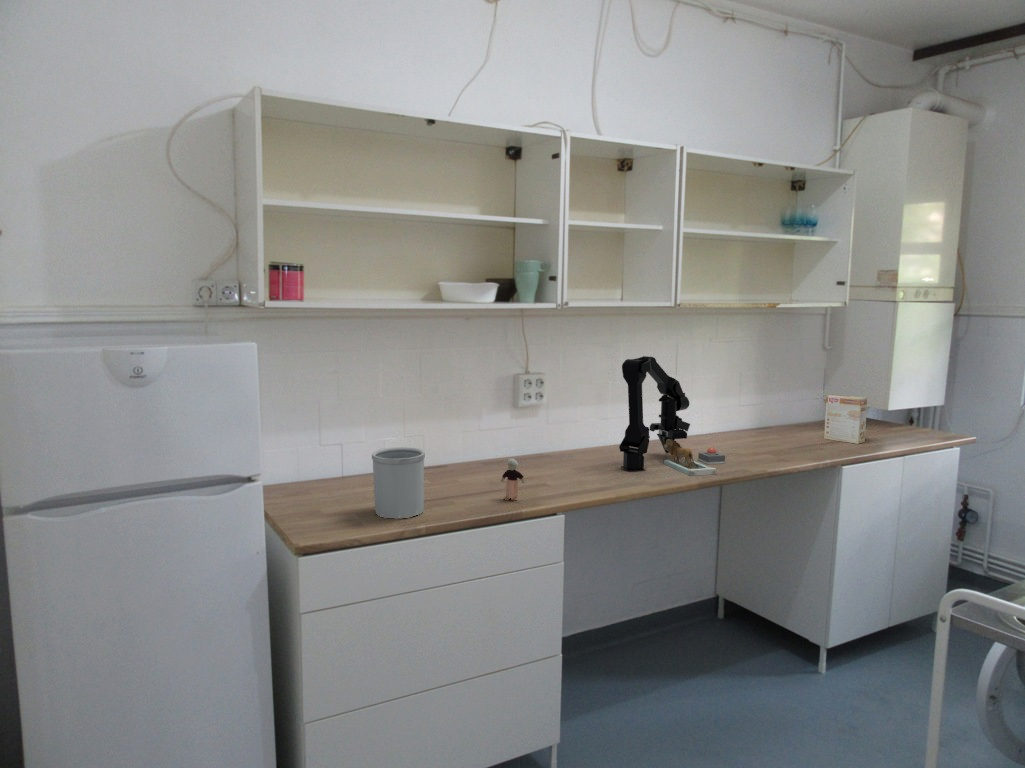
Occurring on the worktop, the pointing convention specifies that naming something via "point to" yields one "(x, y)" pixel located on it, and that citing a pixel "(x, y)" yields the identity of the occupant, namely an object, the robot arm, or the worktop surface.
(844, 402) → the coffeecake box
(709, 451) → the dome plunger
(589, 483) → the worktop surface
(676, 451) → the lion figurine
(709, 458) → the button housing
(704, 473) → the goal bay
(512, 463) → the grandmother figurine
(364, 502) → the worktop surface
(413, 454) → the utensil holder
